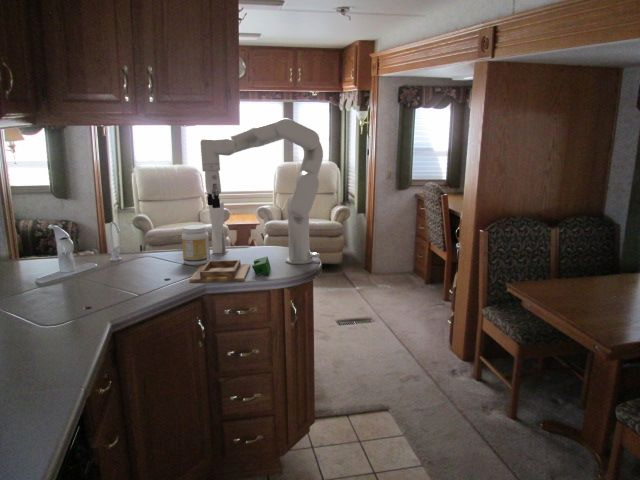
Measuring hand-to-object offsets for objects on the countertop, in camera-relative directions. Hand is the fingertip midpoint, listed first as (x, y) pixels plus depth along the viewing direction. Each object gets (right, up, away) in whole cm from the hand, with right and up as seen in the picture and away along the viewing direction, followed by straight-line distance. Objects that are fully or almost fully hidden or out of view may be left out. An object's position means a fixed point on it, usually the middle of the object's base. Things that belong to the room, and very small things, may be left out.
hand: (213, 206), depth 218 cm
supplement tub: (-11, -26, +12) cm, 30 cm away
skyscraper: (-4, -22, +31) cm, 38 cm away
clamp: (+22, -29, -7) cm, 37 cm away
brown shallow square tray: (+5, -29, -8) cm, 31 cm away
